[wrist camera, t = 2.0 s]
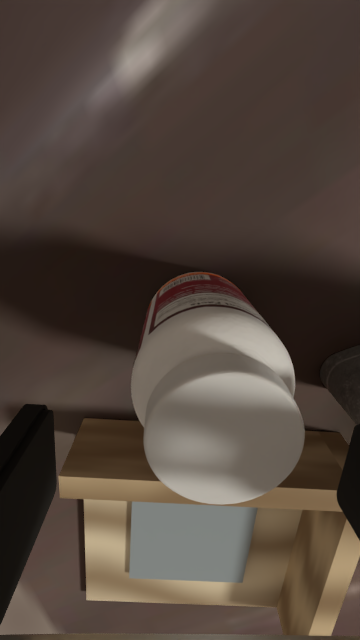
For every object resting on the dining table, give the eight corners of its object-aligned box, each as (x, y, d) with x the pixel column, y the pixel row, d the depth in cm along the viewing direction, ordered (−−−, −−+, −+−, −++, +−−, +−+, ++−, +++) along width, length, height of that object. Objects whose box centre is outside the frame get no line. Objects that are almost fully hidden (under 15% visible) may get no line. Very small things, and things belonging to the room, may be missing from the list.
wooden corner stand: (84, 418, 22) (58, 476, 17) (339, 432, 22) (382, 492, 18) (88, 592, 28) (70, 671, 23) (291, 599, 28) (315, 679, 24)
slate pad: (133, 485, 23) (132, 490, 23) (258, 491, 23) (260, 496, 23) (129, 572, 26) (129, 578, 26) (241, 577, 26) (242, 582, 26)
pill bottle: (212, 382, 21) (247, 553, 11) (128, 336, 20) (76, 476, 10) (270, 303, 19) (378, 415, 9) (181, 248, 18) (189, 303, 8)
